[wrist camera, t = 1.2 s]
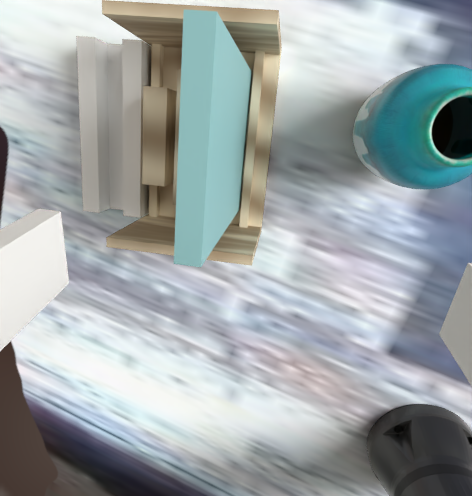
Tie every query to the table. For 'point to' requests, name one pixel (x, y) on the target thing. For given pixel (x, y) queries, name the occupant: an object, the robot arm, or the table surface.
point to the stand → (112, 124)
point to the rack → (258, 125)
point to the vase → (418, 128)
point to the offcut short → (158, 135)
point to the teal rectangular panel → (209, 135)
